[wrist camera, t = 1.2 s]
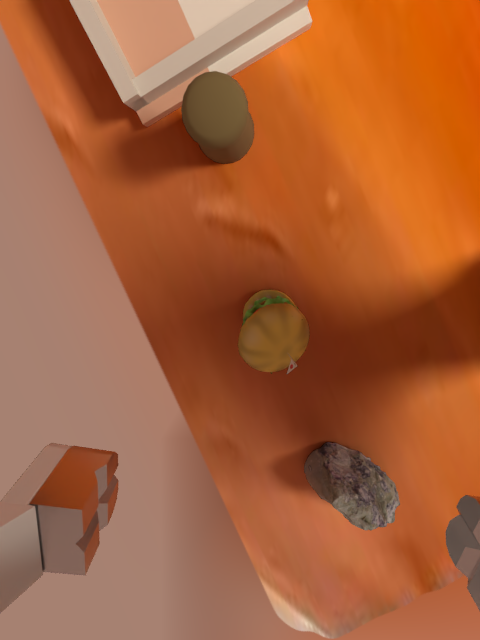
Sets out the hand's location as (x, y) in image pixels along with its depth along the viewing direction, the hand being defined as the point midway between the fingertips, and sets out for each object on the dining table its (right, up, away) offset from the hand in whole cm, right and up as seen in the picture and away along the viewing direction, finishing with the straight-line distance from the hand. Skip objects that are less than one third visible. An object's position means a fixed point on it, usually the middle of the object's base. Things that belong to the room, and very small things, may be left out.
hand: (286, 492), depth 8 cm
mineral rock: (+15, -18, +42) cm, 48 cm away
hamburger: (+3, +5, +34) cm, 35 cm away
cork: (-3, +24, +27) cm, 36 cm away
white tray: (-6, +34, +24) cm, 41 cm away
